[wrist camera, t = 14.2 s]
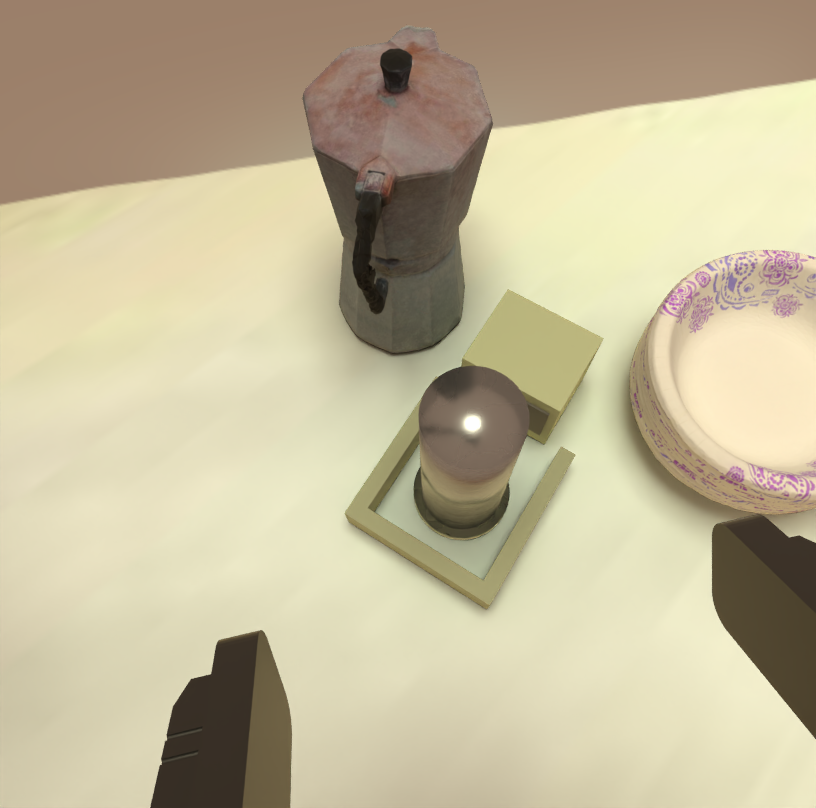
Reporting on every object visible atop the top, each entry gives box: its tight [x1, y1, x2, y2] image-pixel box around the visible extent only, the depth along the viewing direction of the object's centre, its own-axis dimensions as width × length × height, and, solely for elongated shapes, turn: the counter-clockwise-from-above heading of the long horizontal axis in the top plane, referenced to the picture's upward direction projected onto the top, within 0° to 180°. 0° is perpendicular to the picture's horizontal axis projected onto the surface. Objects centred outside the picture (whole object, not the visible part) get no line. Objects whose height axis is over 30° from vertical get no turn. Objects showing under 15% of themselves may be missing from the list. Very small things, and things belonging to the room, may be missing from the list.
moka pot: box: [303, 26, 493, 353], centre depth 40 cm, size 10×15×20 cm, turn 173°
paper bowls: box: [629, 250, 816, 514], centre depth 42 cm, size 15×15×8 cm
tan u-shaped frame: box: [345, 290, 604, 609], centre depth 42 cm, size 16×10×6 cm, turn 148°
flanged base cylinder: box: [414, 366, 530, 540], centre depth 38 cm, size 6×6×14 cm
